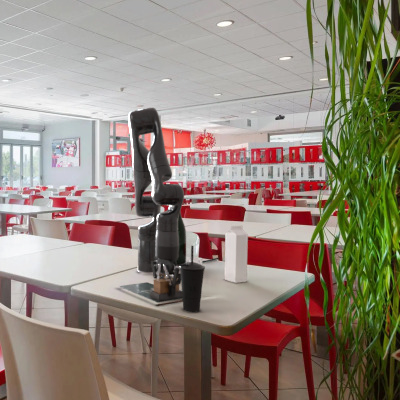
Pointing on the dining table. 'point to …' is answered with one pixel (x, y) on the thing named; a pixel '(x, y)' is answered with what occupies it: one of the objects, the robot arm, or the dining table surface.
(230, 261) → the milk
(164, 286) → the eraser
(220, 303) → the dining table surface
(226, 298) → the dining table surface
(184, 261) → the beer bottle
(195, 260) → the container set
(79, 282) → the dining table surface
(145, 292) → the chalkboard
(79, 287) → the dining table surface
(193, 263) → the drinking cup
